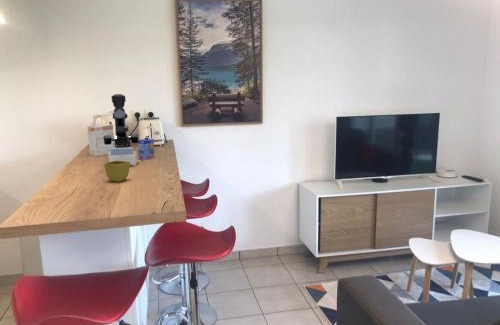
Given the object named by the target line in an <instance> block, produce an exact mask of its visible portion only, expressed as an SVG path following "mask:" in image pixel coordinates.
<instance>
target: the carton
mask: <svg viewBox="0 0 500 325" xmlns="http://www.w3.org/2000/svg"><path fill="white" fill-rule="evenodd" d="M107 157H108V158H107V159H108V162H112V161H128V162H130V166H136V165H137V163H138V160H137V152H136V151H134V150H133V154H126V155H111V152H110V154H109V153H108V155H107Z"/></svg>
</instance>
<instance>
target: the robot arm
mask: <svg viewBox="0 0 500 325" xmlns="http://www.w3.org/2000/svg"><path fill="white" fill-rule="evenodd" d="M111 103H112V104H113V107H114V109H113V113H112V120H114V128H115V131H114V132H115V134H114V135H115V136H114V137H113V138H111V135H104V144H105V145H108V144H111V141H114V146H115V148H129V147H131V145H130V143H131V144H138V140H139V135H138V133H131V134H130V136H128V135H127V132H129V125H128V124H126V120H127V118H129V116H128V114H127V112H126V110H125V109H124V108H125V104H126V103H127V102H126V95H124V94H122V93H119V94H118V93H117V94H113V95H111ZM130 141H131V142H130Z"/></svg>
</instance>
